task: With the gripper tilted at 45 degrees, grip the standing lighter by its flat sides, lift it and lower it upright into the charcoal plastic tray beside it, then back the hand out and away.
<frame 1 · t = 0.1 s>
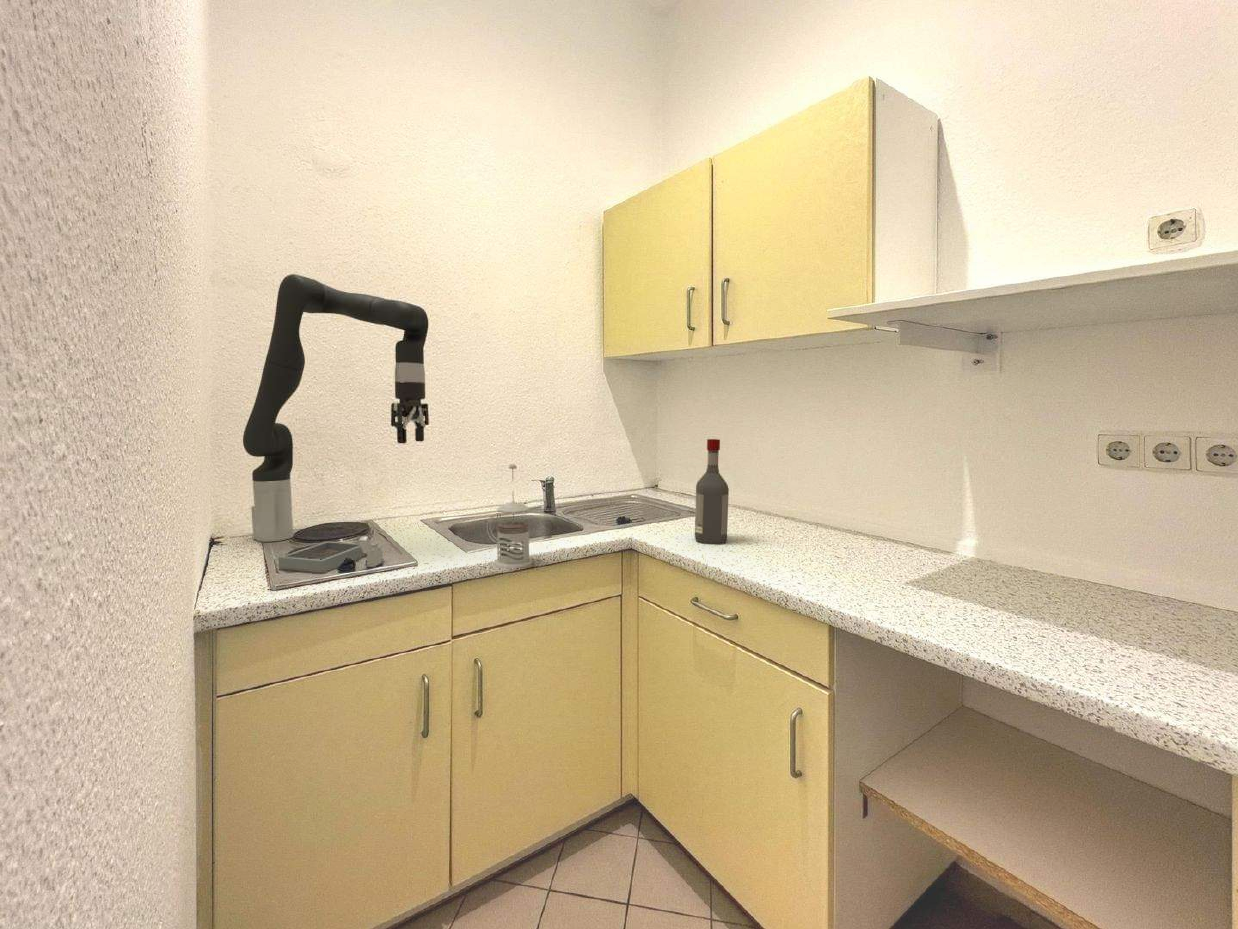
hand: (411, 442, 150), 29 cm above the worktop, tool pointing down, fingers open, 8 cm apart
french press: (510, 562, 142), on the worktop
tray: (325, 562, 140), on the worktop
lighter: (371, 567, 137), on the worktop
liquor: (710, 541, 167), on the worktop
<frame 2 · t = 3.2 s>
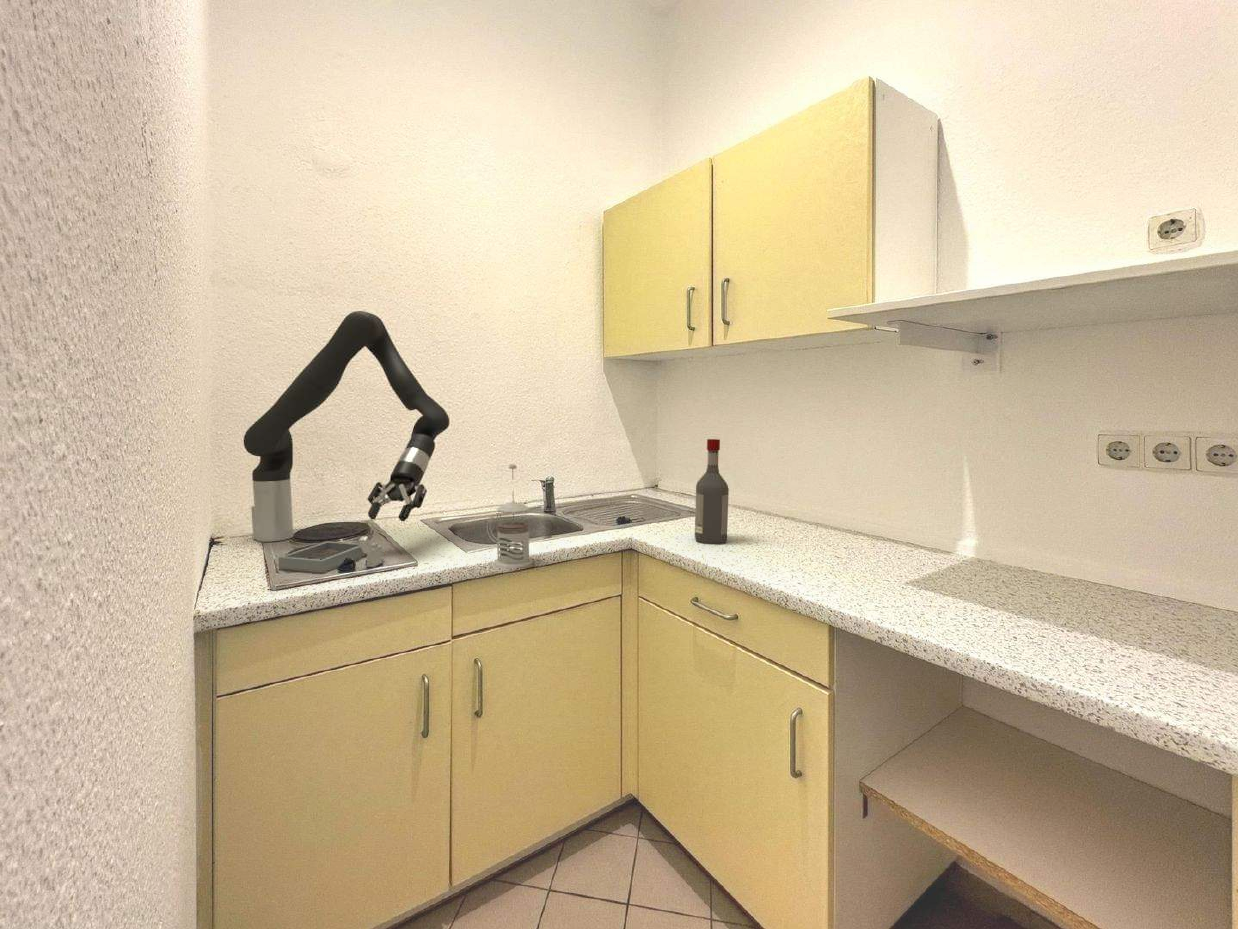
hand: (386, 518, 142), 11 cm above the worktop, tool tilted 45°, fingers open, 8 cm apart
nothing on the worktop moved.
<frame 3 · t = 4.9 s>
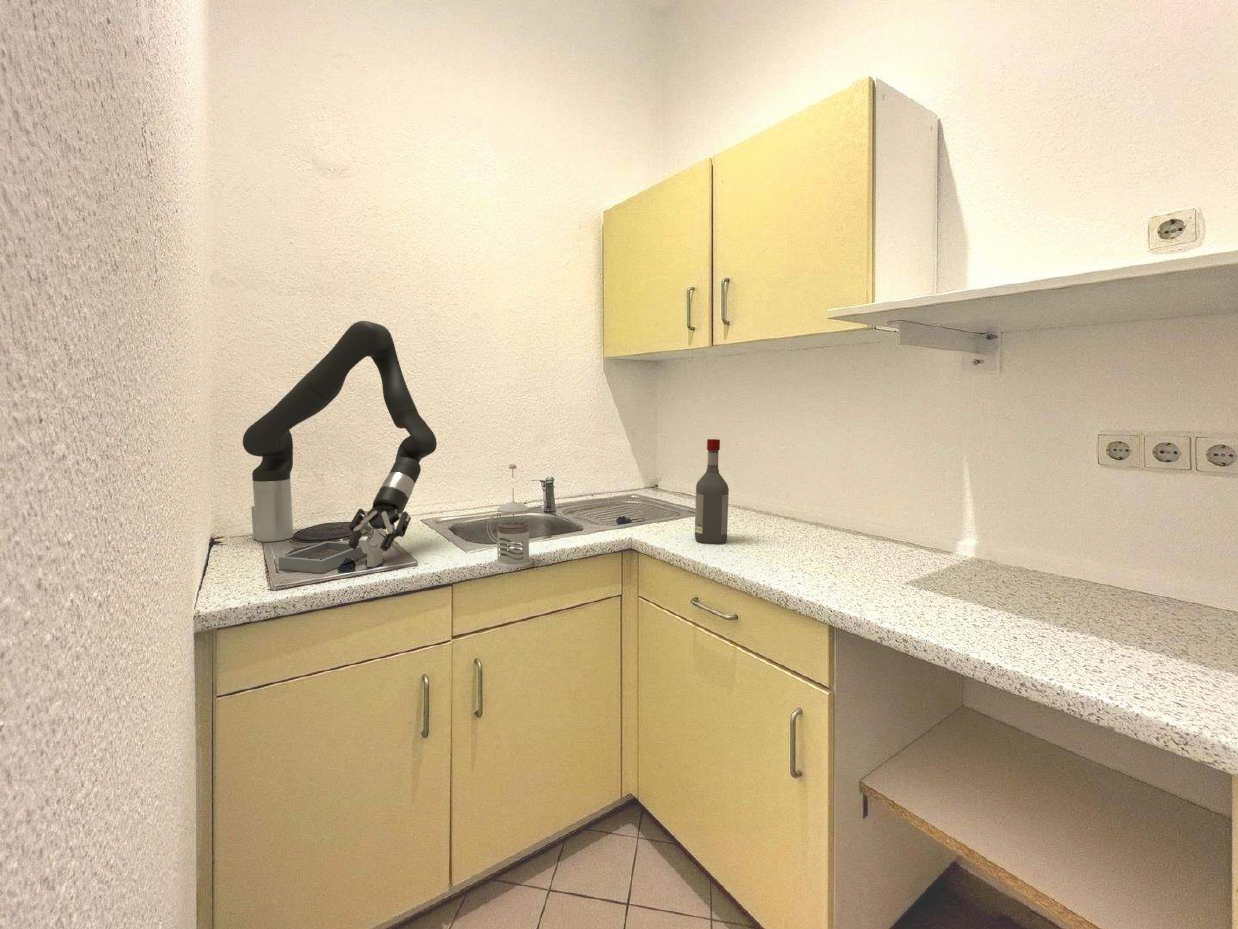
hand: (367, 548, 135), 5 cm above the worktop, tool tilted 45°, fingers open, 8 cm apart
nothing on the worktop moved.
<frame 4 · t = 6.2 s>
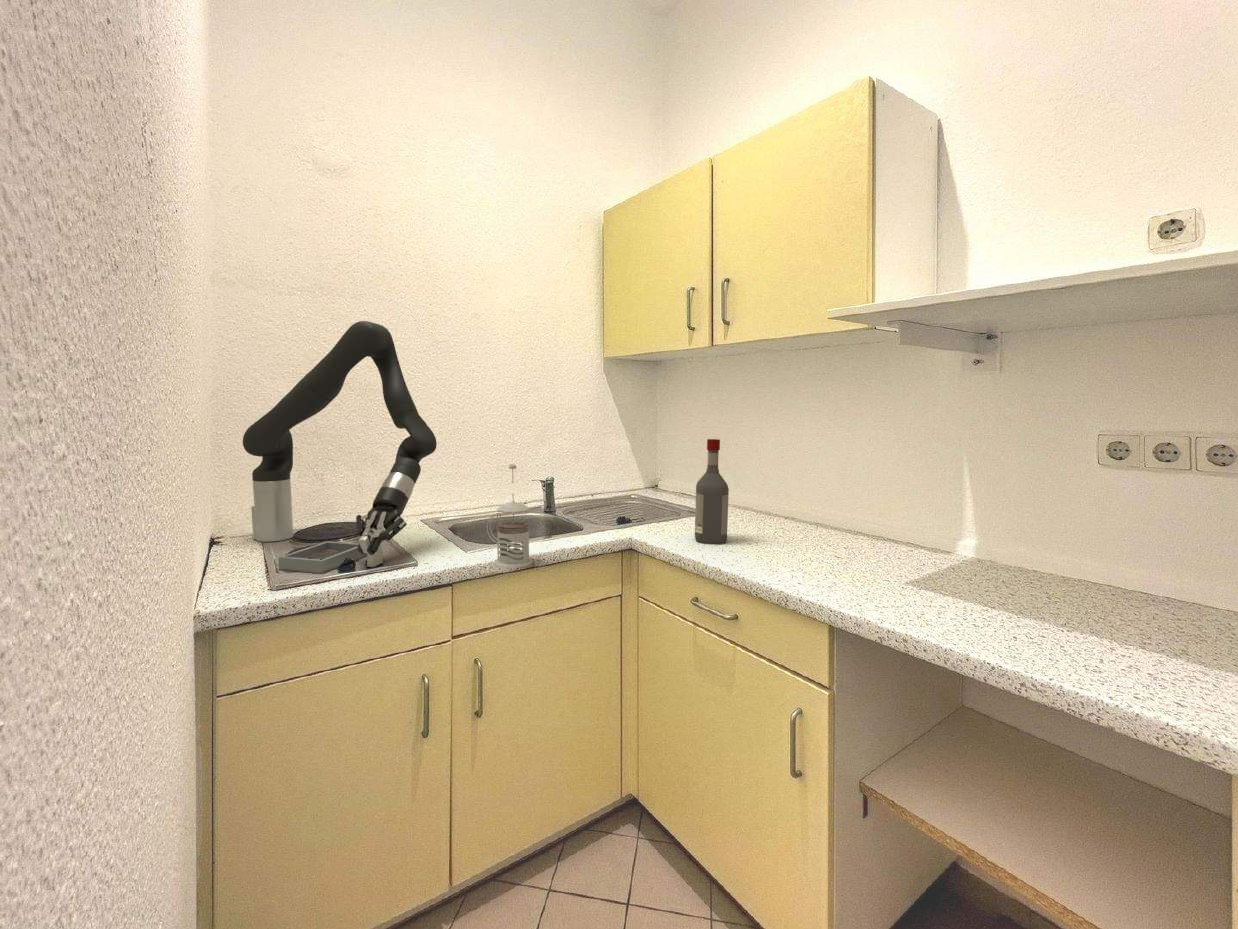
hand: (365, 552, 135), 4 cm above the worktop, tool tilted 45°, fingers closed on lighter, 2 cm apart
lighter: (371, 567, 137), on the worktop, touching gripper
everything else where it was.
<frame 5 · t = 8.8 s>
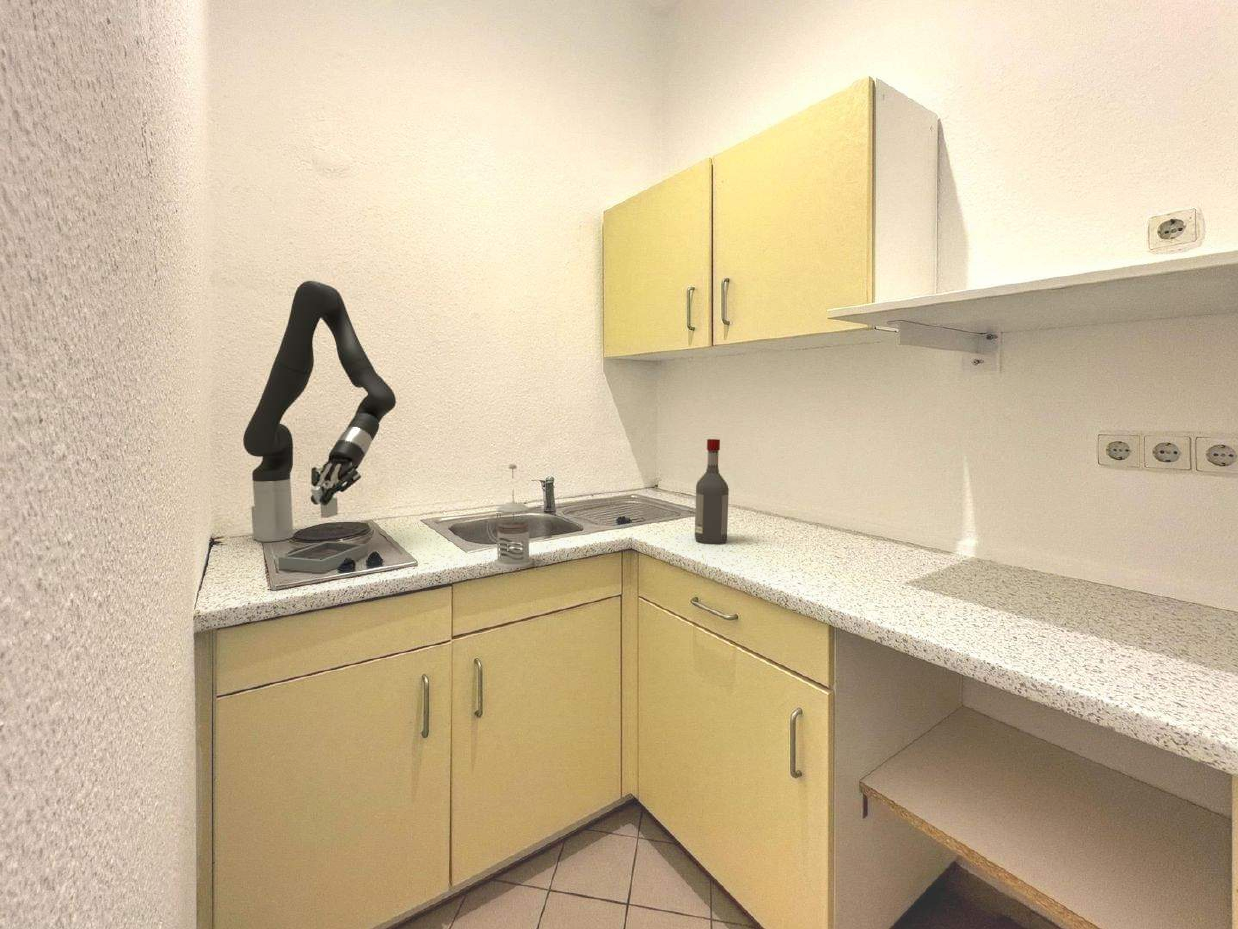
hand: (318, 502, 136), 15 cm above the worktop, tool tilted 45°, fingers closed on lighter
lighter: (325, 518, 138), point 11 cm above the worktop, touching gripper
everything else where it was.
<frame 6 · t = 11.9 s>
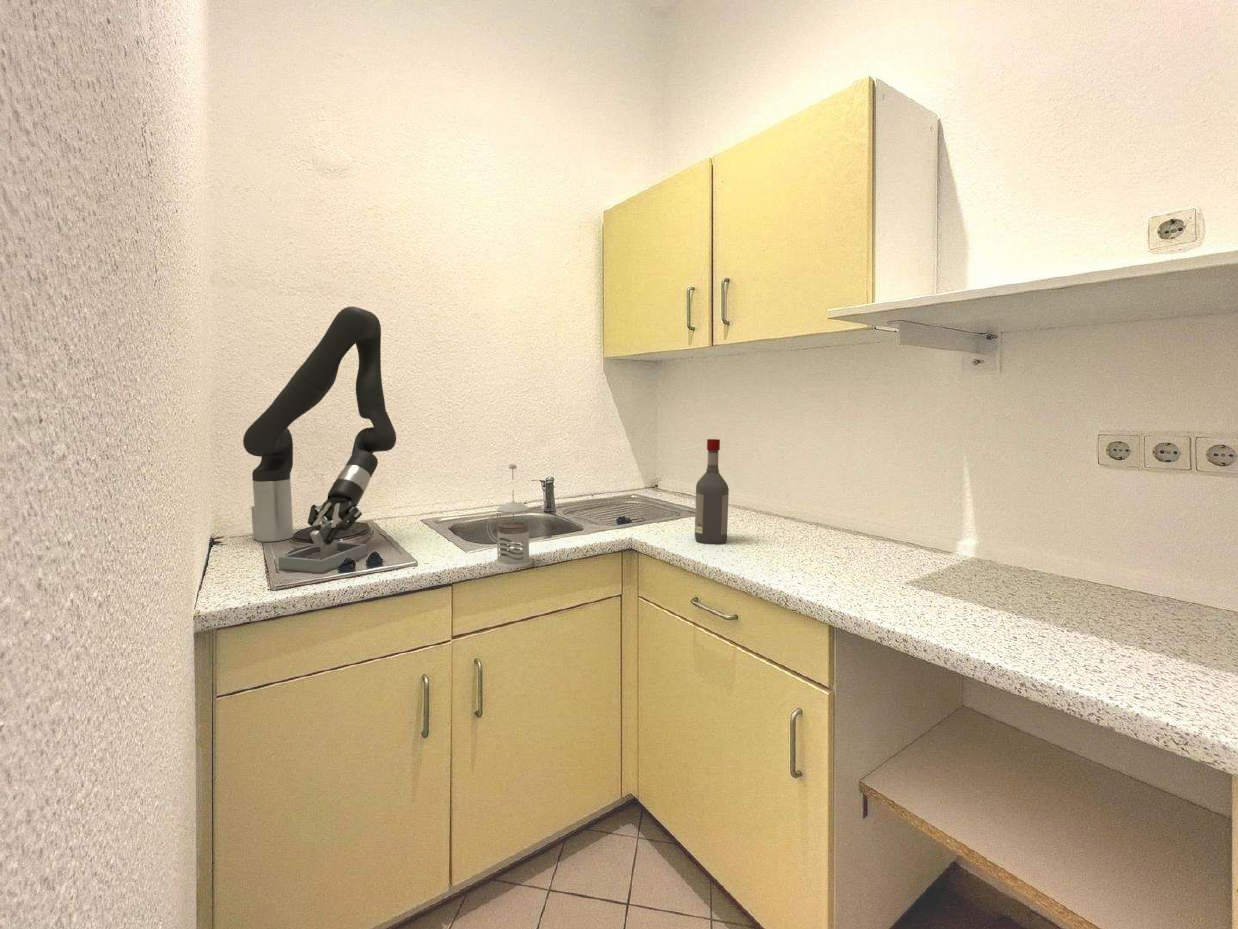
hand: (318, 542, 137), 6 cm above the worktop, tool tilted 45°, fingers open, 4 cm apart
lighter: (325, 560, 140), resting on tray
everything else where it was.
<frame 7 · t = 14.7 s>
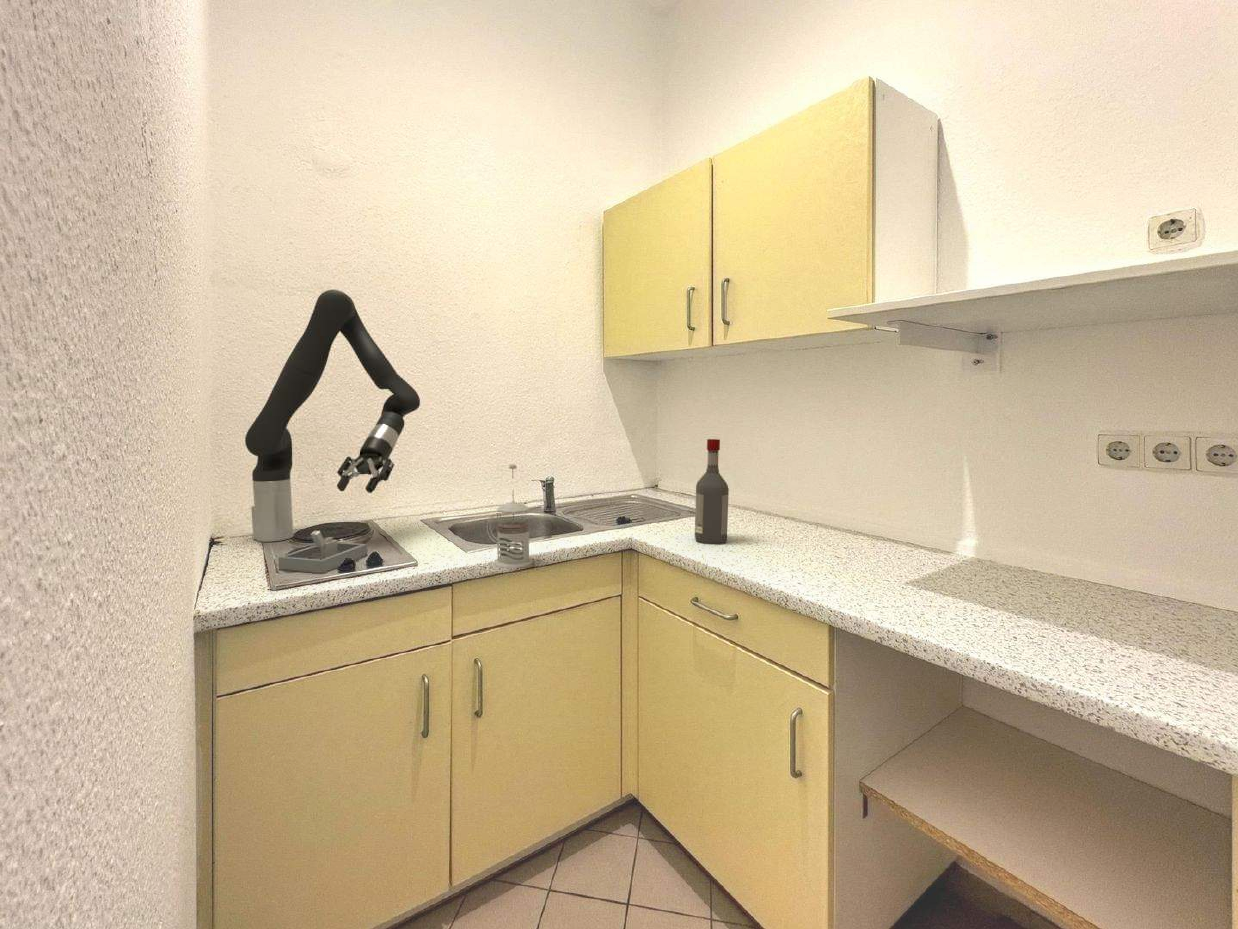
hand: (354, 490, 149), 16 cm above the worktop, tool tilted 45°, fingers open, 8 cm apart
nothing on the worktop moved.
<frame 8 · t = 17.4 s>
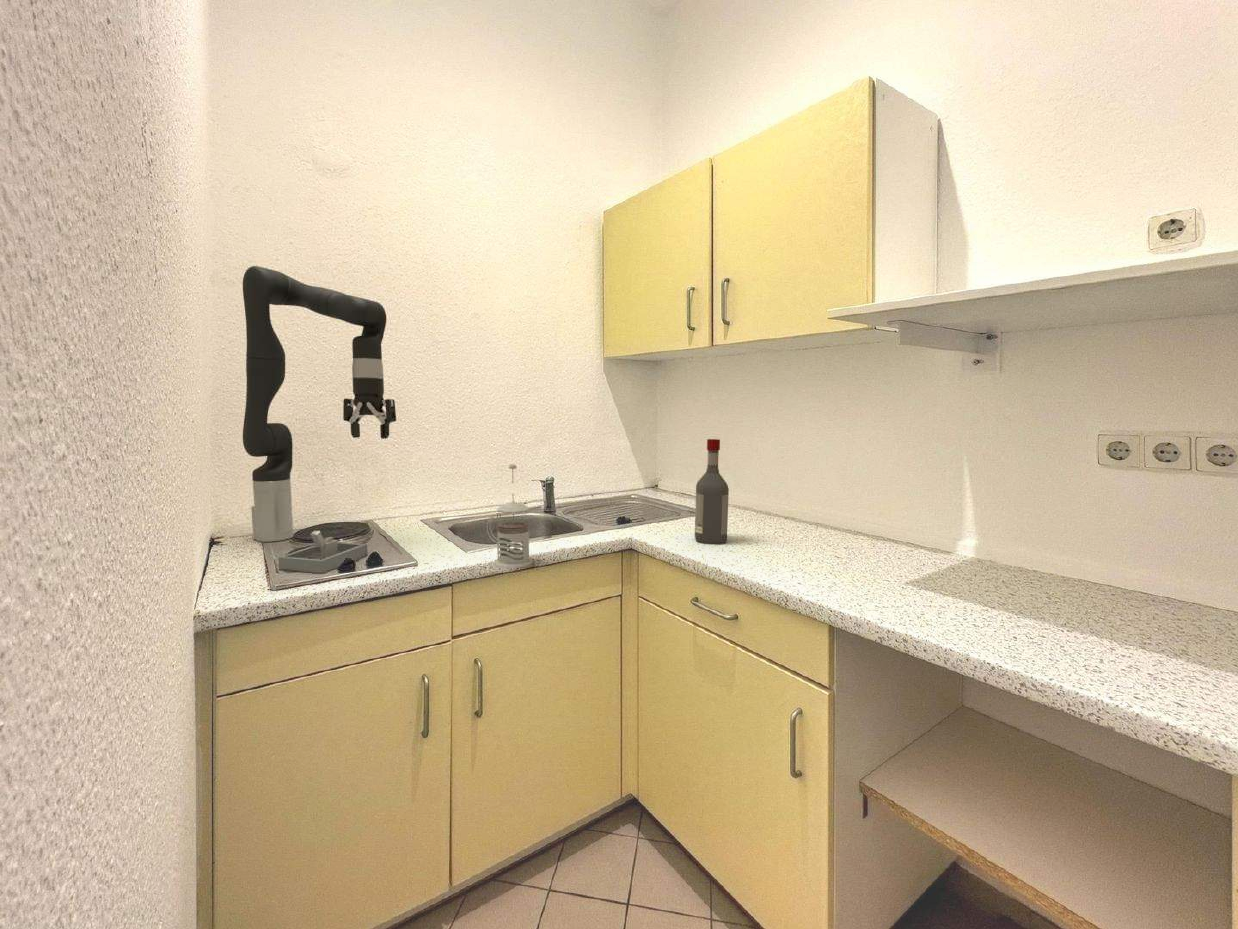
hand: (370, 438, 150), 30 cm above the worktop, tool pointing down, fingers open, 8 cm apart
nothing on the worktop moved.
at the end: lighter inside the target area on the tray (0.1 cm from its centre), point 0.3 cm above the tray's base; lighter tilted 0°; the gripper is holding nothing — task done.
